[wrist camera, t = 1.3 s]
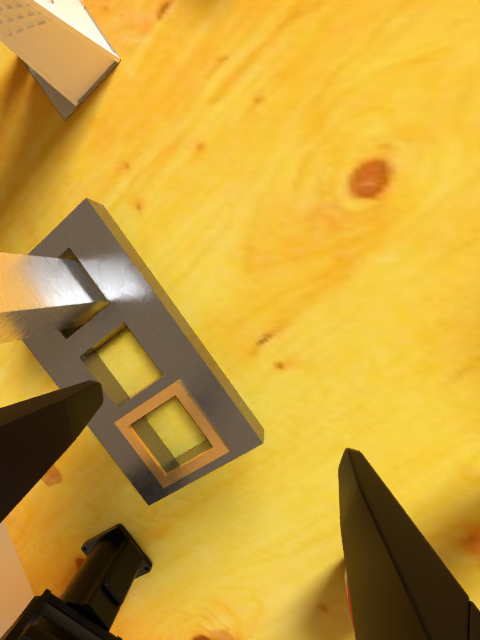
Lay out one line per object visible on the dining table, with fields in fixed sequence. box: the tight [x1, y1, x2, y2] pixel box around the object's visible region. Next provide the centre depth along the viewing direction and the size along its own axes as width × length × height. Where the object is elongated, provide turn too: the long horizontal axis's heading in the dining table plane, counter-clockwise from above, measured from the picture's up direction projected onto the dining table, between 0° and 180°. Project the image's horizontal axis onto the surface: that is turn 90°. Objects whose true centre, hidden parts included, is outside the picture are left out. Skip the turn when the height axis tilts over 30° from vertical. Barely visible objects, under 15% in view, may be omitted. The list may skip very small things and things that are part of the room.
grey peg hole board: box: [22, 198, 264, 505], centre depth 23 cm, size 14×26×2 cm, turn 36°
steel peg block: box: [0, 252, 110, 344], centre depth 19 cm, size 4×4×10 cm
